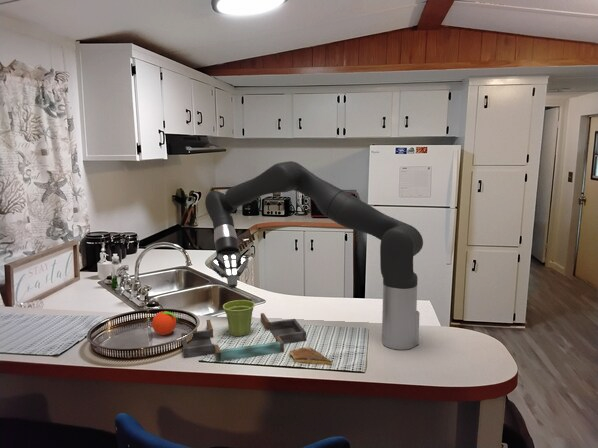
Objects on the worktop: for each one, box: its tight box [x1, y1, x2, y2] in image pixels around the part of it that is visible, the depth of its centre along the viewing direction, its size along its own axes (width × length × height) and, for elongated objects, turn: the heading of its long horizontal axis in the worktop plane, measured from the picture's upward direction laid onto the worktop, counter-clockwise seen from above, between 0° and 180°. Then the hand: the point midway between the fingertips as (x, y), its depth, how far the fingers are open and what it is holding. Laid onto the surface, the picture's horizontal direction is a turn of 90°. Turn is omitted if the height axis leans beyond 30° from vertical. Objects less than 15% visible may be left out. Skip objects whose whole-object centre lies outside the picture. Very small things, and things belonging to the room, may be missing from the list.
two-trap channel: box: [180, 312, 307, 362], centre depth 133 cm, size 34×24×2 cm
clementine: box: [151, 310, 179, 336], centre depth 137 cm, size 8×7×7 cm
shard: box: [288, 346, 333, 366], centre depth 119 cm, size 11×8×2 cm
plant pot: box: [222, 299, 256, 337], centre depth 137 cm, size 9×9×9 cm
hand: (233, 287), depth 144 cm, fingers closed
